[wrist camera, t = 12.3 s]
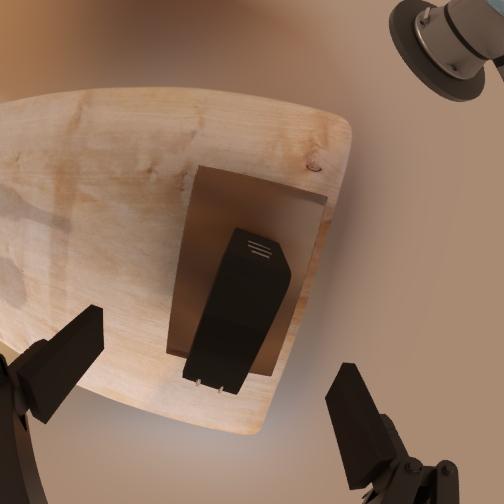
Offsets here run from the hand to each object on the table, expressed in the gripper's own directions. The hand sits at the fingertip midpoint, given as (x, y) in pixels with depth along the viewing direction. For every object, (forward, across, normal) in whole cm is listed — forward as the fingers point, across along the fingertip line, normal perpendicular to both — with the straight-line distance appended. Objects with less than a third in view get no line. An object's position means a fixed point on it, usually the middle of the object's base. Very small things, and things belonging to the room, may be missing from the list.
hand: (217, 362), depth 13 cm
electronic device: (+13, 0, 0) cm, 13 cm away
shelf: (+25, 0, -1) cm, 25 cm away
